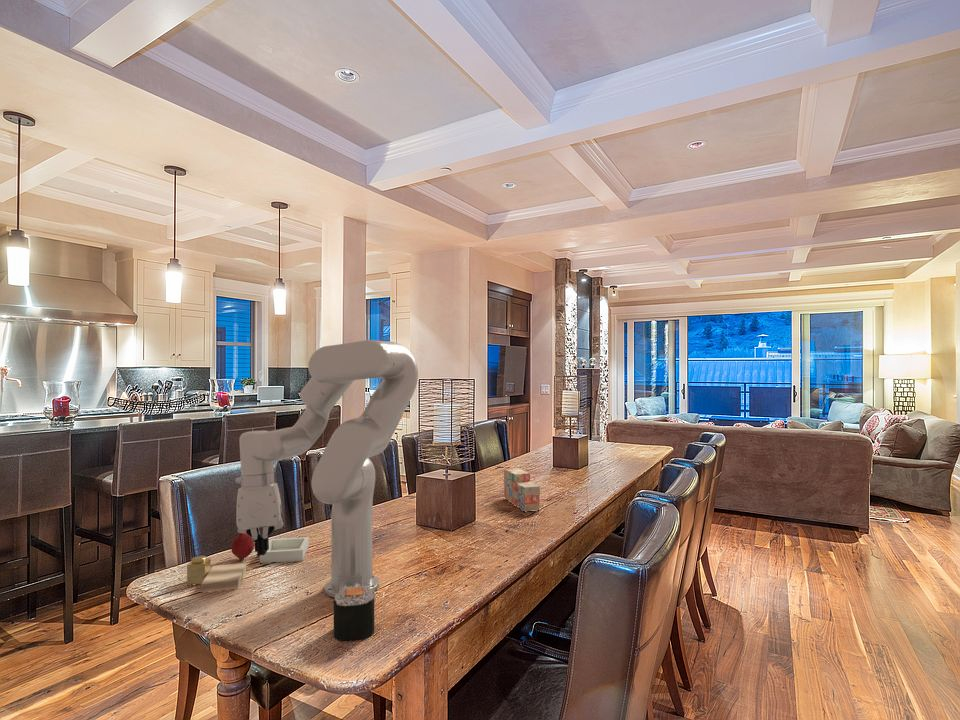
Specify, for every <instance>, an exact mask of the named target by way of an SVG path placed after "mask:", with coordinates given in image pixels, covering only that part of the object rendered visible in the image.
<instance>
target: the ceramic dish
mask: <svg viewBox="0 0 960 720" xmlns="http://www.w3.org/2000/svg"><path fill="white" fill-rule="evenodd" d="M268 539H269V538H268ZM309 547H310V537H309V536H305V537H291V538H290V537H288V538H285V537H284V538H274V539H273V538H272V539H269V550H267V552H266V554H265V555H260V556H259V564H260V563H266V564H272V563H271V562H281V563H293V562H294V561H295V562H303V561H304V559H305V556H306V554H307V553H306V552H308V551H309Z"/></svg>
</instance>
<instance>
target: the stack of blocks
mask: <svg viewBox="0 0 960 720" xmlns="http://www.w3.org/2000/svg"><path fill="white" fill-rule="evenodd" d="M530 477H531V473H530V472H527V471H525V470H524V469H521V468H519V467H512V468H503V486H504V487H503V489H504V490H503V491H504V492H503V495H504V497H505V498H506V499H508V500H509V501H510V502H511V503H513V504H515V505H516V506H518V507H519V508H520V509H522V510H524V511H531V510H539V511H540V494H541V492H540V490H541V489H540V488H541V487H540V485H538V484H536V483H534V482H533V481H531V478H530ZM516 506H515V507H516ZM520 509H519V510H520Z"/></svg>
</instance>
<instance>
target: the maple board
mask: <svg viewBox="0 0 960 720" xmlns="http://www.w3.org/2000/svg"><path fill="white" fill-rule="evenodd" d="M246 570H247V571H248V563H247V562H239V563H238V562H237V563H231V564H230V563H228V564H227V563H226V564H219V565H213V566H211V567H210V571H209V573H208V574H207V576H206V577H205V579H204V581H203V582H202V584H201V585H200V593H201V592H208V593H210V592H209V591H217V592H222V591H221V590H227V591H232V590H231V589H236V590H239V588H240V586H241V584H242V582H241V581H243V580H244V578H243V577H245V576H244V575H246V573H247V571H246ZM242 579H243V580H242ZM240 583H241V584H240ZM239 585H240V586H239ZM229 589H230V590H229Z"/></svg>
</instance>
